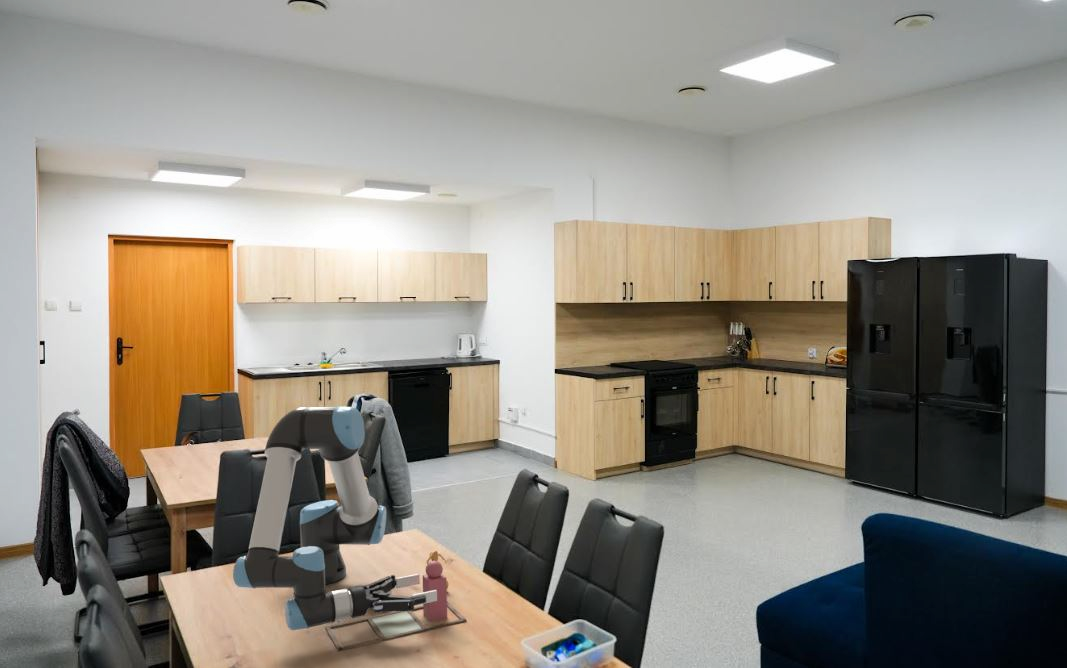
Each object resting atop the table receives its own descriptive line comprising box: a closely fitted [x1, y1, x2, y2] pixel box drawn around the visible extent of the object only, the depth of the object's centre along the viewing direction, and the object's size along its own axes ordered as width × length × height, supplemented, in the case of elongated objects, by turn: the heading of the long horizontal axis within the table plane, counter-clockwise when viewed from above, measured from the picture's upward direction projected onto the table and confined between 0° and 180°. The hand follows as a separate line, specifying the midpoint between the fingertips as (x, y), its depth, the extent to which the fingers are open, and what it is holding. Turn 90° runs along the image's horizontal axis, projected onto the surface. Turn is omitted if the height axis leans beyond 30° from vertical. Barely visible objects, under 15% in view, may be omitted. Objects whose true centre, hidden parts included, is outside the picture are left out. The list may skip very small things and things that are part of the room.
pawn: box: [422, 560, 448, 622], centre depth 202 cm, size 5×5×15 cm
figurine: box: [426, 550, 449, 590], centre depth 219 cm, size 8×6×12 cm
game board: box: [324, 601, 467, 652], centre depth 197 cm, size 15×34×1 cm, turn 118°
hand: (427, 586), depth 201 cm, fingers open, 13 cm apart
